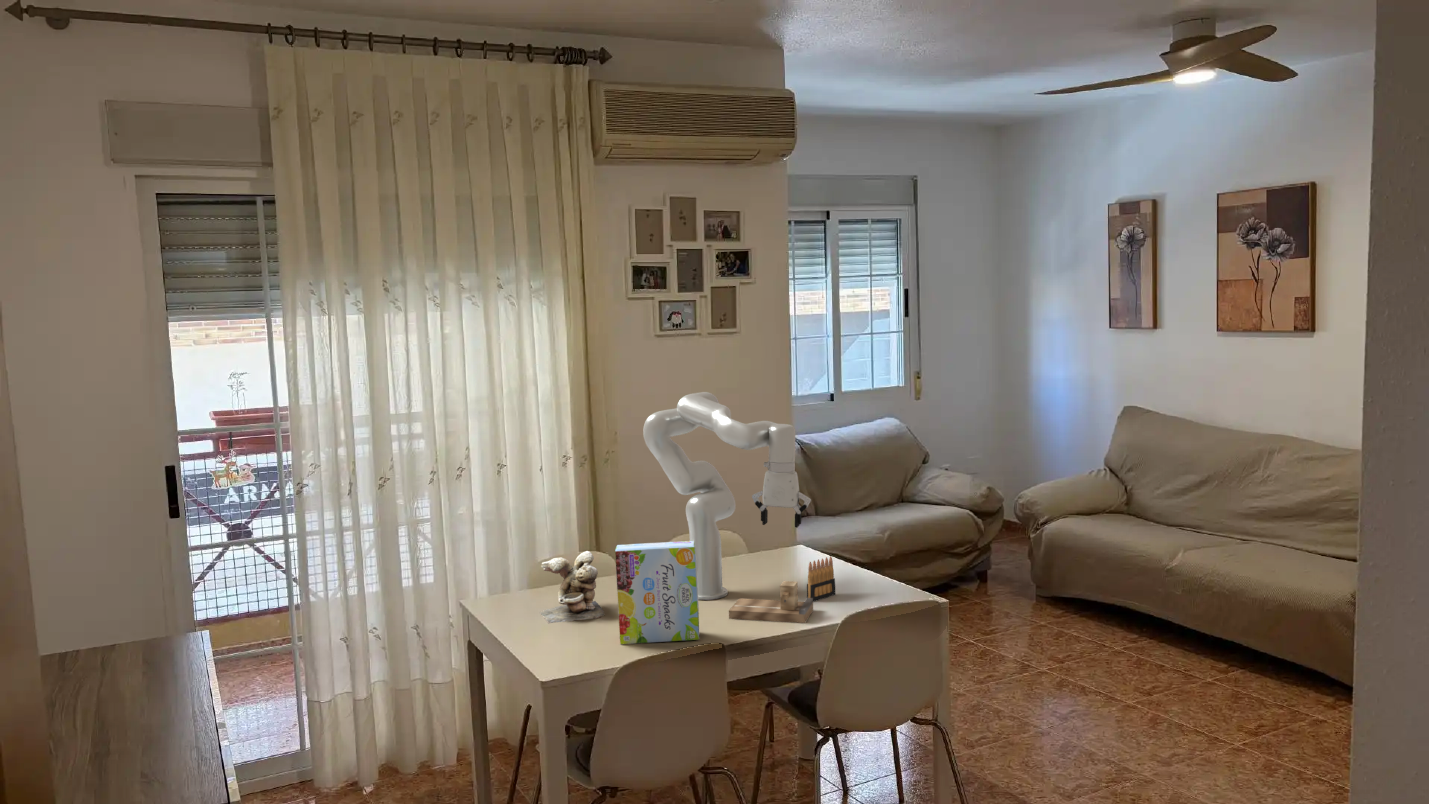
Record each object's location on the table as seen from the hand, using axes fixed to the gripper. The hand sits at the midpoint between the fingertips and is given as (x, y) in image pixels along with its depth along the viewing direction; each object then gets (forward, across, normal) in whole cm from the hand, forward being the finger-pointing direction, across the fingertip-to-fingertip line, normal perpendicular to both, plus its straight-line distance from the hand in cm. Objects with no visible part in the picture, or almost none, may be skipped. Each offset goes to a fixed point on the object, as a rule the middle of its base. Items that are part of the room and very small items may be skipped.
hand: (780, 525), depth 310 cm
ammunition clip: (+25, +10, +13) cm, 29 cm away
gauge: (+22, +5, -7) cm, 24 cm away
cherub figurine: (+27, -59, -17) cm, 67 cm away
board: (+25, -1, -7) cm, 26 cm away
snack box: (+26, -25, -34) cm, 49 cm away
